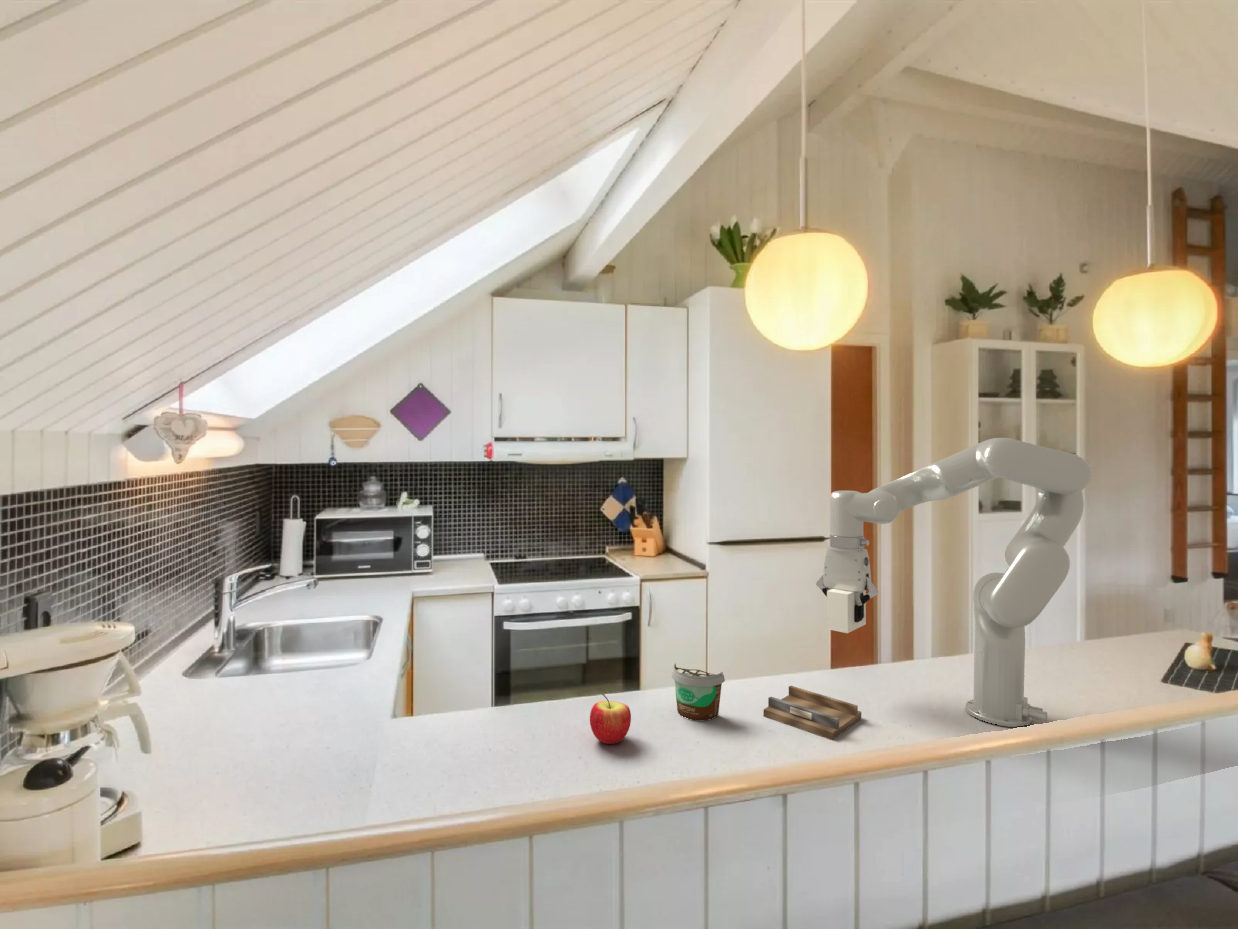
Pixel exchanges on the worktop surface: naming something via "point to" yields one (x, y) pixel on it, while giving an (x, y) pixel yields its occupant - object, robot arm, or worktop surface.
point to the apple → (610, 721)
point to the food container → (697, 693)
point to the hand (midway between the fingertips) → (846, 618)
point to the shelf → (813, 712)
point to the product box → (842, 611)
